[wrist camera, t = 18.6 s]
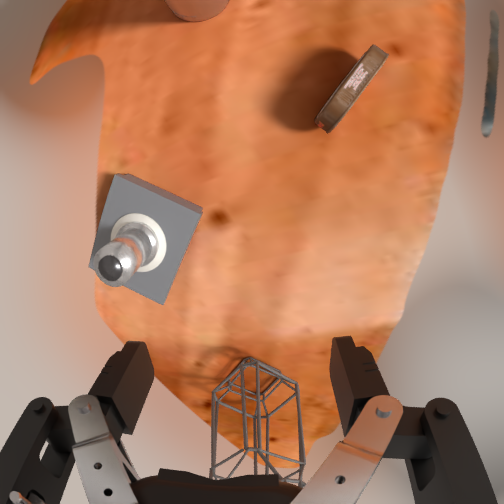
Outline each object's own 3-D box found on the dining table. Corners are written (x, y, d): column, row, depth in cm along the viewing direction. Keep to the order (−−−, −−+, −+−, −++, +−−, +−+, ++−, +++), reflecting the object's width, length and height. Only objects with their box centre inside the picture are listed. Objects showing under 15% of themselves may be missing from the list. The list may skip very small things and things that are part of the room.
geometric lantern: (245, 332, 52) (240, 528, 19) (312, 368, 55) (346, 535, 23) (200, 382, 57) (173, 543, 24) (263, 411, 60) (268, 558, 27)
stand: (126, 171, 43) (113, 174, 39) (206, 208, 45) (200, 215, 40) (99, 257, 48) (87, 267, 44) (170, 292, 50) (162, 306, 46)
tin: (323, 135, 41) (337, 134, 33) (306, 122, 40) (316, 117, 32) (377, 64, 36) (399, 50, 28) (360, 51, 35) (380, 34, 28)
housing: (125, 214, 41) (93, 233, 32) (165, 233, 41) (140, 257, 33) (113, 252, 43) (82, 278, 34) (150, 271, 44) (126, 302, 35)
